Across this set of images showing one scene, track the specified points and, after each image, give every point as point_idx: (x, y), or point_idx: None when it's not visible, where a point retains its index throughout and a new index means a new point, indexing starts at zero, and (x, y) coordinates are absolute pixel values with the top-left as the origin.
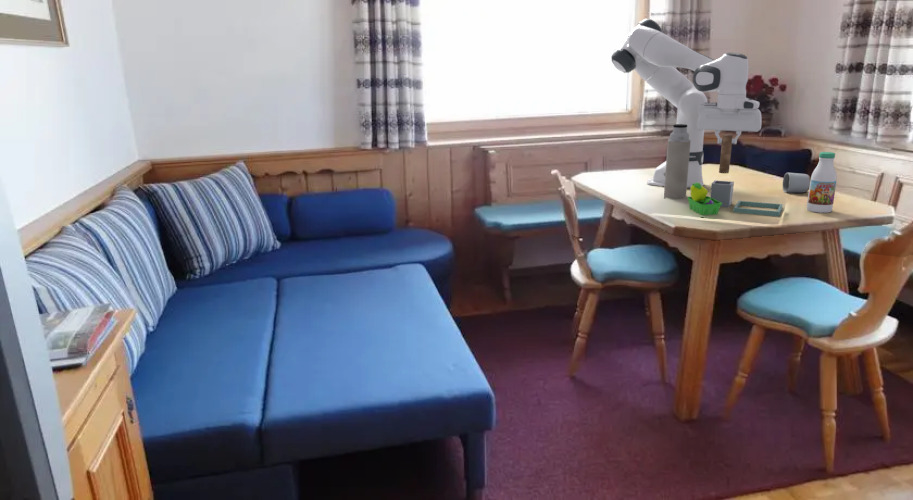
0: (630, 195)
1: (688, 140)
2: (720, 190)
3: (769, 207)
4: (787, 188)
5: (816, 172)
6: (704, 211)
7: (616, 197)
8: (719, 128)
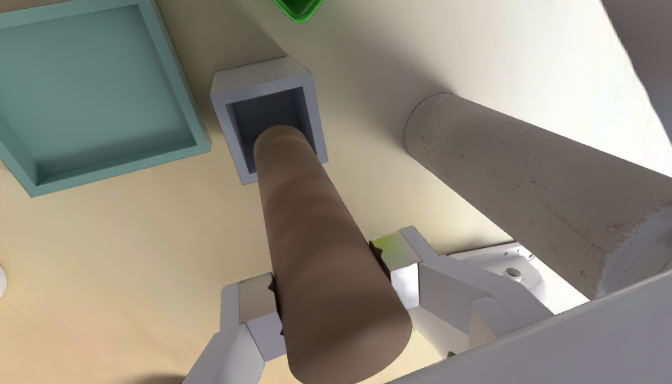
0: (563, 90)
1: (614, 266)
2: (259, 77)
3: (85, 169)
4: None
5: None
6: None
7: (603, 32)
8: (531, 356)
